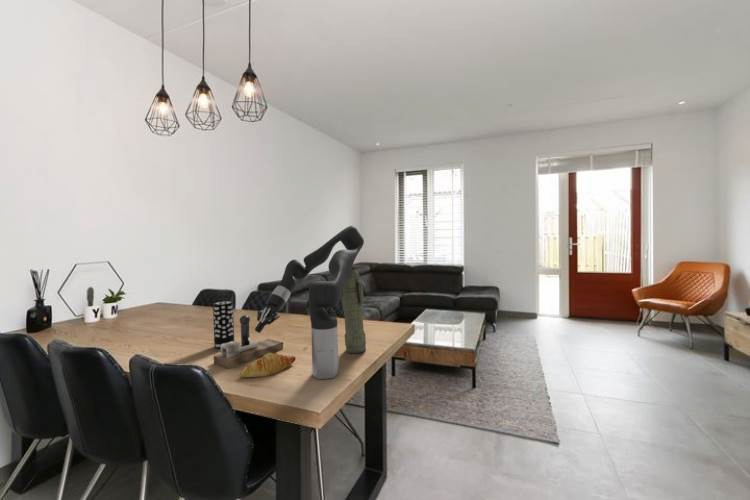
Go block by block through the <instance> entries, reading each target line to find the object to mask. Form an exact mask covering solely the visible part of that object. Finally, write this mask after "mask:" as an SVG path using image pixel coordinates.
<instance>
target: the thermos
mask: <svg viewBox="0 0 750 500" xmlns="http://www.w3.org/2000/svg"><path fill="white" fill-rule="evenodd" d="M340 302H341V304H342V306H341V307H342V312H343V315H344V329H345V333H344V343H345V344H344V345H345V351H346V353H348V354H360V353H363V352H365V351H366V350H367V348H366V347H367V346H366V344H367V341H366V333H365V330H364V319H363V318H364V317H363V310H364V303H365V298H364V284H363V280H361V279H360V274H359V271H358V269H356V268H352V269H351V271H350V273H349V275H348V278H347V280H346V283H345V286H344V290H343V293H342V297H341V300H340Z"/></svg>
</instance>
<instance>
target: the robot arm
mask: <svg viewBox="0 0 750 500" xmlns="http://www.w3.org/2000/svg"><path fill="white" fill-rule="evenodd" d="M339 242H341V244H342V245H343V247H345V249H340V250H337V251H336V252H334V253H333V255H332V257H331V258H330V261H329V262H328V271H329V273H330V275H331V277H332V278H333V280H331V281H330V280H329V281H326V280H320V281H319V280H317V281H315V280H314V281H313V282H311V283H310V285H309V288H308V304H309V319H310V328H311V329H310V331H311V370H312V371H311V372H312V377H314V378H315V379H316V380H326V379H335V378H336V376H338V374H339V347H338V346H339V343H338V342H339V341H338V339H339V338H338V336H339V334H338V332H339V331H338V318H337V317H336V316H334V315H333V314H330V313H328V312H326V311H325V310H324V308H335V307H338V306H339V304H340V303H341V297H342V293H343V290H344V286H345V283H346V280H347V278H348V275H349V273H350V271H351V269H353V267H354V266H353V265H354V263H355V260H356V259H357V256H358V255H359V253H360V251H361V249H362V248H363V246H364V244H365V240H364V237H363V236H362V235H361V233H360V231H358V229H357V227H356V226H355V225H350V226H346V227H345V228H344V229H342V230H341V231H340V232H338V233H337V234H335V235H334V236H333V237H331V238H330V239H329V240H328V241H326V242H325V243H324V244H323V245H322V246H320V247H319V248H317V249H316V250H314V251H312V252H311V253H308V254H307V255H306V256H304V258H303V264H304V265H305V266H304V265H303V264H302V263H301V262H300V261H299V260H298V259H292V260H290V261H288V263H287V264H286V266H285V267H284V272H283V275H282V277H281V278H282V279H281V280H280V282H279V283H278V284H277V286H276V287H275V288H274V290H273V291H272V292H271V294H270V296H269V297H268V298H267V300H266V302H265V303H266V305H264V307H263V309H261V310H260V309H259V310H257V313H256V314H257V316H256V321H258V323H257V325H256V326H255V329H254V330H255V332H256V333H259V334H260V333H261V332H262V331H263V329H264V328H265V326H267V325H268V326H270V325H271V324H272V323H274V322H275V321H276V320H278V319H279V318H280V315H279V312H280V311H282V309H283V308H284V306H285V305H286V303H287V301H289V298H290V297H291V294H292V292H293V291H294V289H295V288H296V281H302V280H304V279H305V278H306V277H307V276H308V275H309V274H310V273H311V272H312V271H313V270H314V269H316V268H317V267H319V266H321V265H322V264H324V263H326V261H327V260H328V259H329V256H330V255H331V254H332V251H333V250H334V248H335V246H336V245H337V244H338V243H339ZM295 280H296V281H295Z"/></svg>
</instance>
